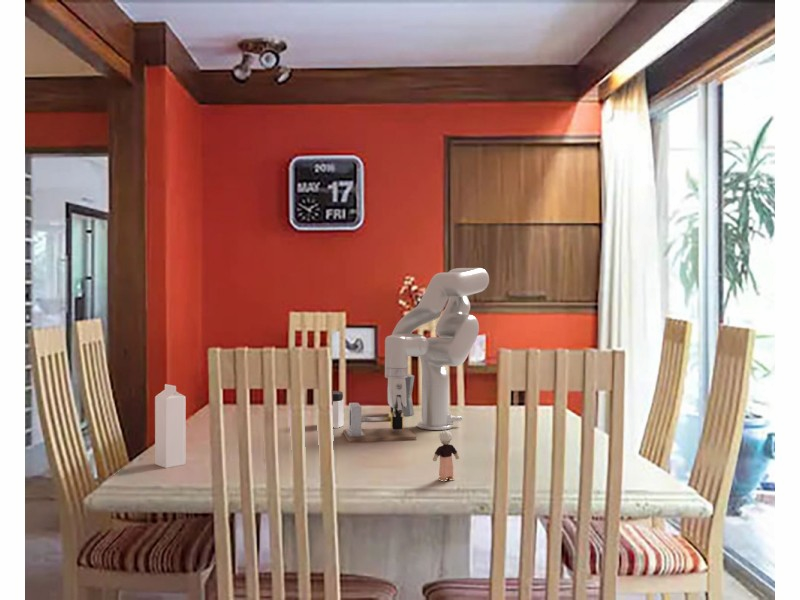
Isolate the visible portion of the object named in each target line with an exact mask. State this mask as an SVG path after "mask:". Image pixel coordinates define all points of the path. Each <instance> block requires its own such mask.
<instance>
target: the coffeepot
mask: <svg viewBox="0 0 800 600" xmlns="http://www.w3.org/2000/svg"><path fill="white" fill-rule="evenodd" d="M405 381H406V400H407V407H406V408H404V407H403V406H402V412H403V416H405V417H413V416H414V414H415V412H414V406H413V399H412V393H413V388H414V382H415V375H414V374H409V373H408V376H407V378H405Z"/></svg>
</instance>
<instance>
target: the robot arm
mask: <svg viewBox="0 0 800 600" xmlns="http://www.w3.org/2000/svg"><path fill="white" fill-rule="evenodd" d="M489 283H490V276H489V273H488V272H487V271H486V269H484V268H481V267H459V268H458V267H457V268H453V269H450V270H449V271H448V272H438V273H435V274H434V275H433V277H431V279H430V281H429V283H428V285H427V287H426V289H425V291H424V293H423V294H422V297H421V298H420V300H419V302H418V304H417V305H416V306H415V307H413V309H411V310H410V311H409V312H407V313H406V314H405V315H403V317H401V319H400V320H399V321H398V322H397V323H396V325H395V327H394V329H393V331H392V333H391V335H388V336H386V337H385V340H384V378H386V379H387V404H388V405H389V411H393V415H394V417H393V429H402V428H403V427H402V406H403V407H404V408H406V407H407V400H406V381H405V378H407V376H408V374H409V373H408V370H409V369H408V366H409V365H408V364H409V363H408V362H409V359H408V357H420V358H419V359H420V365H421V421H418V422H417V424H416V427H417V428H419V429H422V430H427V431H428V430H429V431H442V430H443V431H447V430H450V429H453V427H454V424H453V423H454V422H456V423H457V422H459V423H461V422H462V421H463V416H462V415H452V414H451V413H450V376H449V371H448V370H447V367H446V366H448V367H460V366H461V365H462V364H463V363H464V362H465V361H466V360H467V358H468V356H469V354H470V352H471V350H472V348H473V346H474V344H475V342H476V340H477V339H478V336H479V331H480V325H479V320H478V318H476V316H474V315H472V314H470V311H471V303H470V300H469V296H473V295H474V294H478V293H481V292H483V291H485V290H486V289H487V287H488V286H489ZM437 319H438V321H437V323H436V325H435V334H436V335H437V336H438V337H437V336H432V337H426V336H424V335H422V334H419V333H413V332H414V331H416V329H418V328H419V327H421V326H423V325H426V324H428V323H431V322H433V321H435V320H437ZM395 411H396V412H395Z"/></svg>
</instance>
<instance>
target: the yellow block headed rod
mask: <svg viewBox="0 0 800 600" xmlns="http://www.w3.org/2000/svg"><path fill="white" fill-rule="evenodd" d="M395 412H396V411H395ZM393 417H394V415H393V411H390V410H388V416H373V417H370V416H369V417H367V416H366V417H365V416H364V417H361V423H388V426H389V428H393ZM402 428H404V417H403V412H402Z"/></svg>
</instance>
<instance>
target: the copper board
mask: <svg viewBox="0 0 800 600" xmlns="http://www.w3.org/2000/svg"><path fill="white" fill-rule="evenodd" d="M342 430H343V431H342V432H343V434H344V437H345V438H346V440H347V441H348V443H360V442H364V441H366V442H389V441H390V442H391V441H393V440H395V441H413V440H412V439H416V440H417V436H416V435H415V434H414V433H413V432H412V431H411V430H410V428H408V427H402V429H393V428H391V427H386V428H385V427H384V428H383V427H382V428H361V430H362V432H363V433H364V435H365V437H349V436H348V434H347V433H346V429H342ZM393 442H394V441H393Z"/></svg>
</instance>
